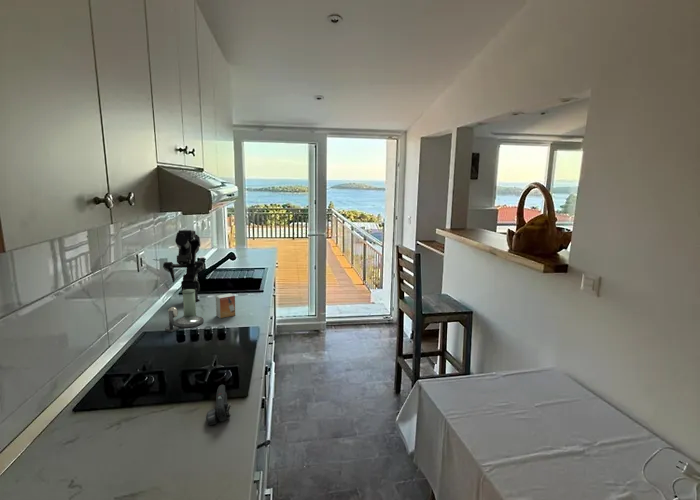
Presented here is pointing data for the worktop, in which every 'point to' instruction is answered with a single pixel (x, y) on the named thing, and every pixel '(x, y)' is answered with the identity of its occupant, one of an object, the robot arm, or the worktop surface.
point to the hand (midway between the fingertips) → (183, 282)
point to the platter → (189, 322)
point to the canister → (189, 302)
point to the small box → (225, 305)
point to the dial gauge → (172, 314)
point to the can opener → (219, 407)
